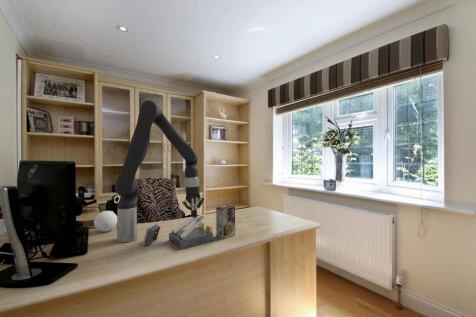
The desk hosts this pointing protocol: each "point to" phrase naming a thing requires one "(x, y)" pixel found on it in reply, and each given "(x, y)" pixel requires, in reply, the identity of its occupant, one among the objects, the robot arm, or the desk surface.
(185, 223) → the far strap
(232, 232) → the coffee box
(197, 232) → the clamp block
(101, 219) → the decorative ball
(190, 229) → the near strap
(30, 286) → the desk surface
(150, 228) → the grey irregular chunk
